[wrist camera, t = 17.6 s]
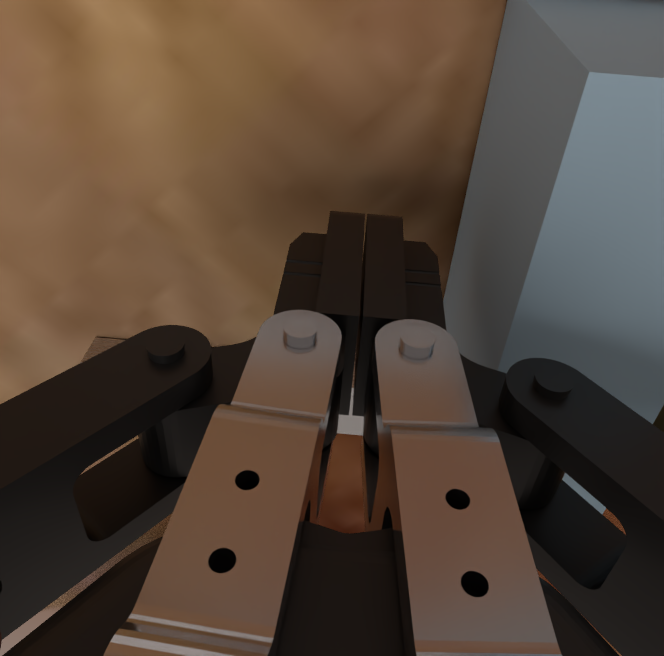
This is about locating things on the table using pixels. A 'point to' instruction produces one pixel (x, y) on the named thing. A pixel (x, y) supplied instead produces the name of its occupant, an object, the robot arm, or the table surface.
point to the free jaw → (569, 201)
